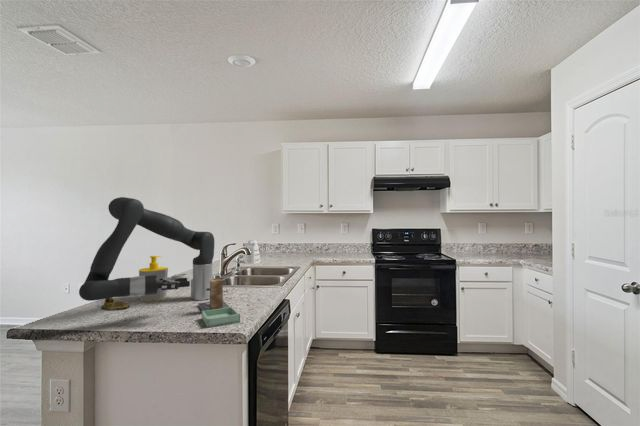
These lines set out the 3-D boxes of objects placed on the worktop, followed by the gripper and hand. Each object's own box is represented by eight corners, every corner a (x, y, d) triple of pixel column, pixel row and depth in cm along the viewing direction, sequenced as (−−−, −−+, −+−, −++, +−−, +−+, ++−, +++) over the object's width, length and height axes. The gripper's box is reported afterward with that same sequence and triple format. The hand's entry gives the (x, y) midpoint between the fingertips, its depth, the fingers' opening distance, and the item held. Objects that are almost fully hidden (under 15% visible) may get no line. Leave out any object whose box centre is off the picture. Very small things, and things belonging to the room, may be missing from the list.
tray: (207, 327, 116) (207, 319, 116) (201, 318, 126) (201, 311, 126) (240, 322, 122) (240, 314, 122) (232, 314, 132) (232, 306, 132)
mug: (189, 285, 191) (189, 274, 191) (182, 287, 184) (182, 276, 184) (175, 284, 193) (175, 273, 193) (167, 286, 186) (167, 275, 186)
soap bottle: (170, 298, 158) (170, 256, 158) (140, 302, 150) (140, 258, 151) (165, 293, 168) (166, 253, 169) (137, 297, 161) (137, 255, 161)
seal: (136, 309, 145) (114, 305, 150) (137, 298, 145) (115, 295, 151) (116, 312, 136) (93, 308, 142) (117, 301, 137) (95, 297, 142)
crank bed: (204, 314, 131) (204, 295, 131) (198, 305, 145) (198, 288, 145) (231, 310, 137) (231, 292, 137) (222, 302, 151) (222, 285, 151)
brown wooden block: (211, 310, 134) (211, 281, 135) (209, 307, 138) (209, 280, 139) (222, 308, 137) (222, 280, 137) (220, 306, 141) (220, 279, 141)
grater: (254, 263, 279) (254, 241, 279) (244, 263, 283) (244, 240, 283) (260, 262, 289) (260, 240, 289) (250, 261, 293) (250, 240, 293)
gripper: (144, 278, 118) (190, 275, 126) (143, 273, 130) (186, 270, 138) (143, 299, 118) (190, 294, 126) (143, 291, 130) (185, 287, 138)
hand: (188, 281), depth 132 cm, fingers open, 8 cm apart
